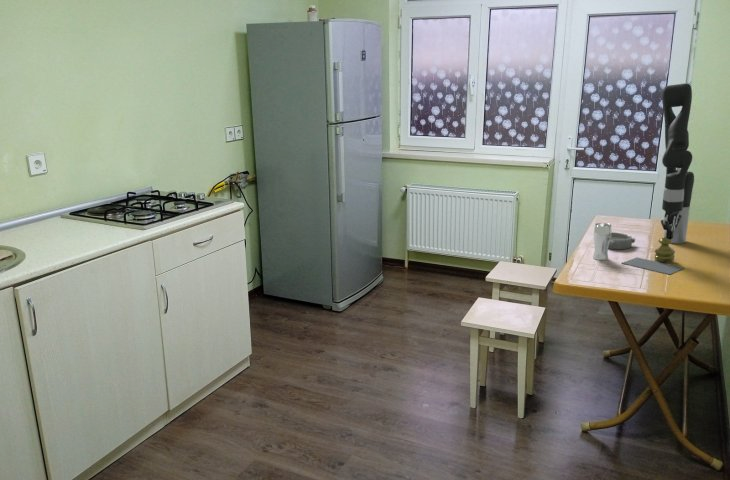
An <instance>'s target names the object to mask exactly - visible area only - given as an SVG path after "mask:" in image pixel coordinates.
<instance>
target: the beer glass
mask: <svg viewBox="0 0 730 480" xmlns="http://www.w3.org/2000/svg"><path fill="white" fill-rule="evenodd" d="M611 232H612V224H611V223H607V222H596V223H595V224H594V229H593V244H594V253H593V255H592V258H593V259H594V260H597V261H607V260H609V254H608V253H609V248H608V247H609V243H610V239H611Z"/></svg>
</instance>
